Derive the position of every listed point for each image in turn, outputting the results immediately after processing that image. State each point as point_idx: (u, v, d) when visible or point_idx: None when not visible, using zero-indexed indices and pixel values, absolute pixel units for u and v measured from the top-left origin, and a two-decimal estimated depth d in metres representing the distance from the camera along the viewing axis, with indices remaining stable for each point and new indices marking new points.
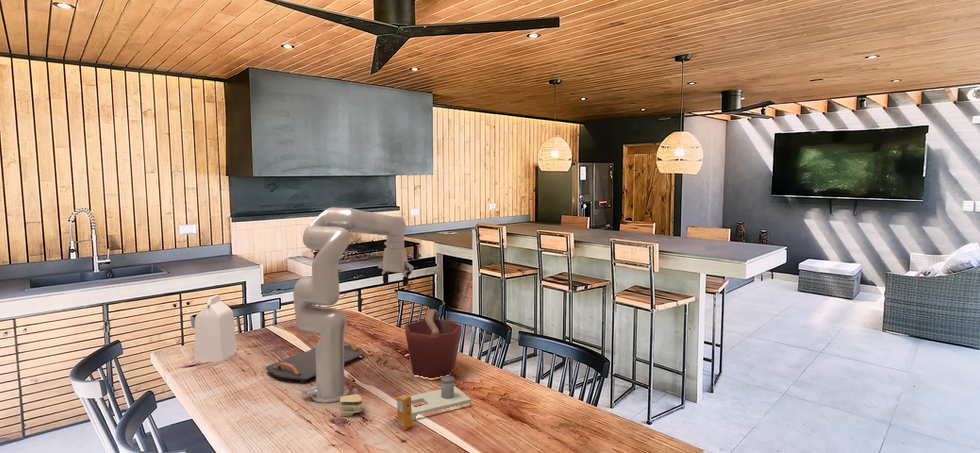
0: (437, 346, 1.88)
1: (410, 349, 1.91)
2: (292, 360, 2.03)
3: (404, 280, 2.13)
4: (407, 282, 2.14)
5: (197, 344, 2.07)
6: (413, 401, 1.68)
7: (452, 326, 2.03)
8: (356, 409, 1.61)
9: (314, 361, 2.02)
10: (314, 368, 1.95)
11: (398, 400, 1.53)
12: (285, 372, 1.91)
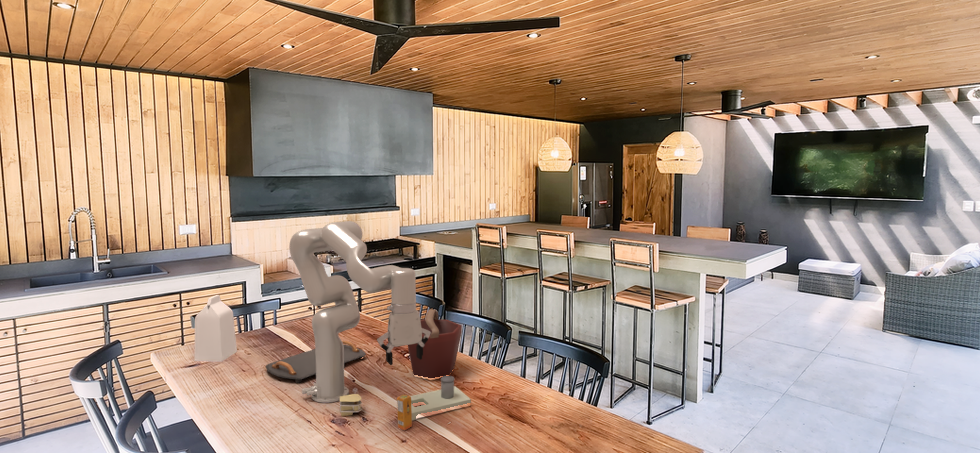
0: (437, 346, 1.88)
1: (410, 349, 1.91)
2: (292, 359, 2.04)
3: (421, 352, 1.59)
4: None
5: (197, 344, 2.07)
6: (413, 401, 1.68)
7: (452, 326, 2.03)
8: (355, 409, 1.62)
9: (313, 361, 2.02)
10: (311, 368, 1.95)
11: (398, 400, 1.53)
12: (282, 371, 1.91)
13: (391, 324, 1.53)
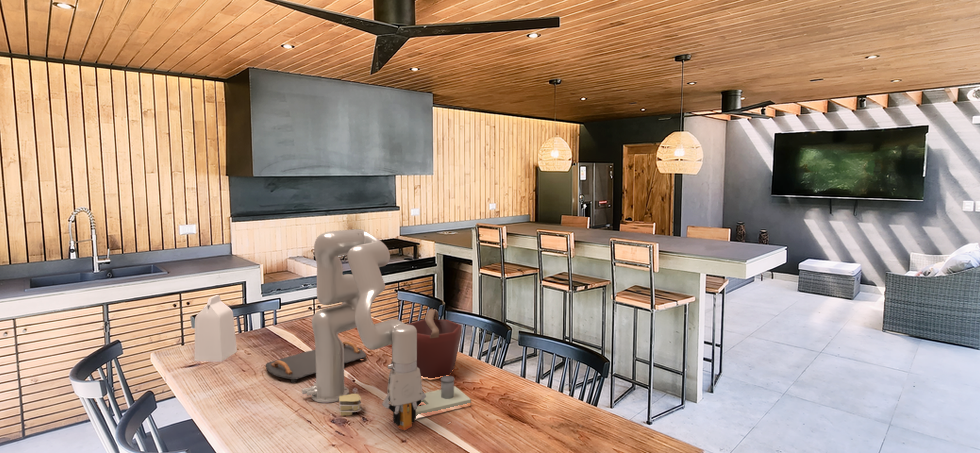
0: (437, 346, 1.88)
1: None
2: (293, 358, 2.05)
3: None
4: None
5: (197, 344, 2.07)
6: None
7: (452, 326, 2.03)
8: (355, 408, 1.62)
9: (312, 361, 2.02)
10: (308, 368, 1.95)
11: None
12: (280, 370, 1.92)
13: (391, 383, 1.50)
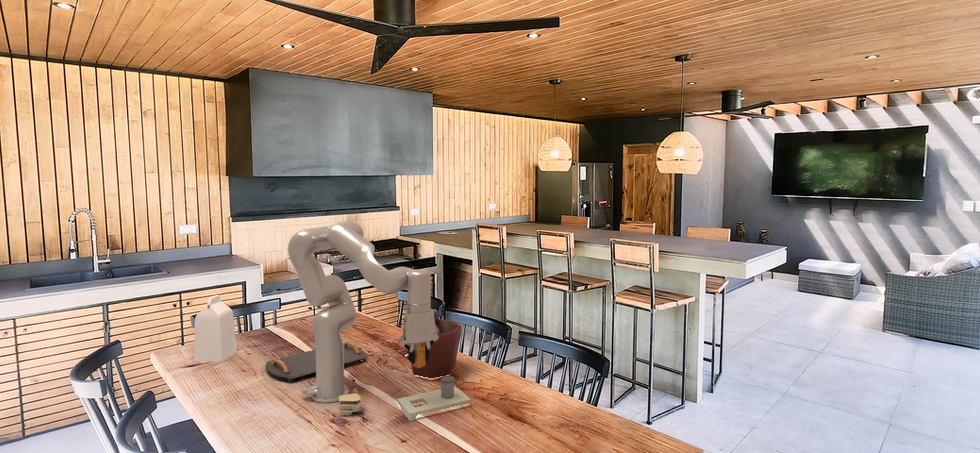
0: (437, 346, 1.88)
1: None
2: (294, 357, 2.06)
3: (427, 354, 1.65)
4: None
5: (197, 344, 2.07)
6: (413, 401, 1.68)
7: (452, 326, 2.03)
8: (355, 408, 1.62)
9: (312, 361, 2.03)
10: (306, 368, 1.95)
11: None
12: (278, 369, 1.93)
13: (407, 323, 1.60)
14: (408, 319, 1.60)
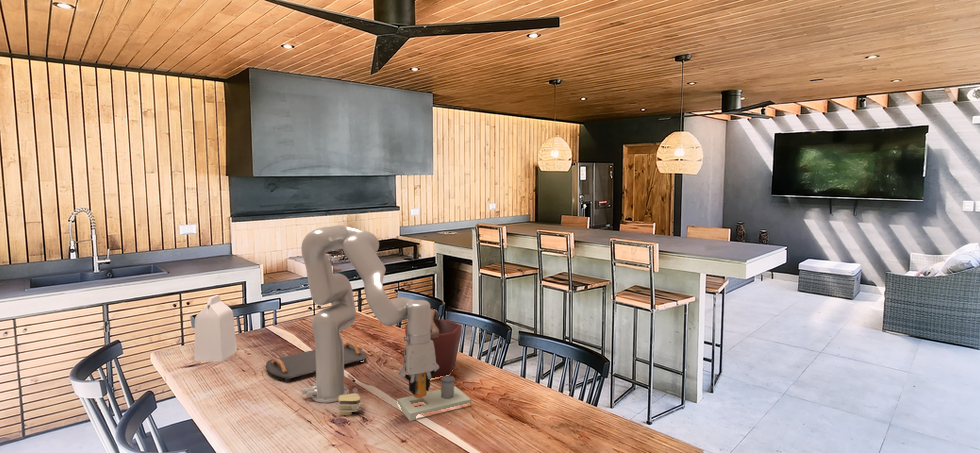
0: (437, 346, 1.88)
1: None
2: (294, 357, 2.07)
3: (428, 384, 1.66)
4: None
5: (197, 344, 2.07)
6: (413, 401, 1.68)
7: (452, 326, 2.03)
8: (354, 408, 1.62)
9: (312, 361, 2.03)
10: (304, 368, 1.95)
11: None
12: (277, 368, 1.94)
13: (407, 354, 1.61)
14: (408, 350, 1.61)
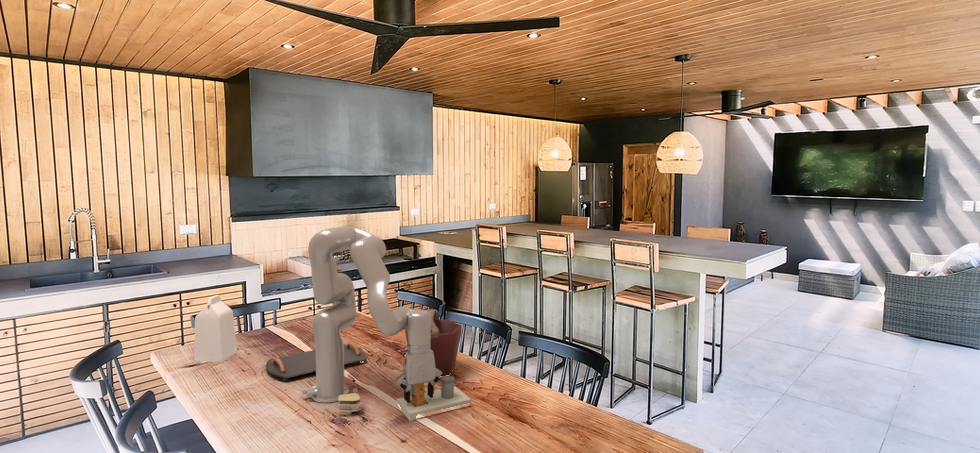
0: (437, 346, 1.88)
1: None
2: (295, 356, 2.07)
3: (432, 390, 1.67)
4: None
5: (197, 344, 2.07)
6: None
7: (452, 326, 2.03)
8: (354, 408, 1.62)
9: (311, 360, 2.03)
10: (303, 368, 1.95)
11: None
12: (276, 368, 1.95)
13: (407, 364, 1.61)
14: (408, 360, 1.61)
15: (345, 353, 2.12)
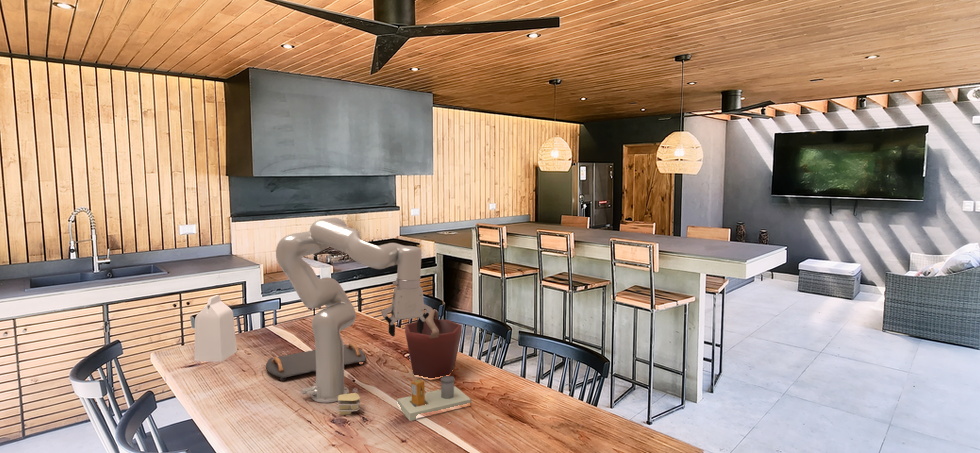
0: (437, 346, 1.88)
1: (410, 349, 1.91)
2: (296, 356, 2.08)
3: None
4: (422, 328, 1.69)
5: (197, 344, 2.07)
6: None
7: (452, 326, 2.03)
8: (354, 408, 1.62)
9: (311, 360, 2.03)
10: (301, 367, 1.95)
11: (412, 384, 1.65)
12: (275, 367, 1.95)
13: (396, 298, 1.61)
14: (397, 294, 1.61)
15: (346, 354, 2.11)
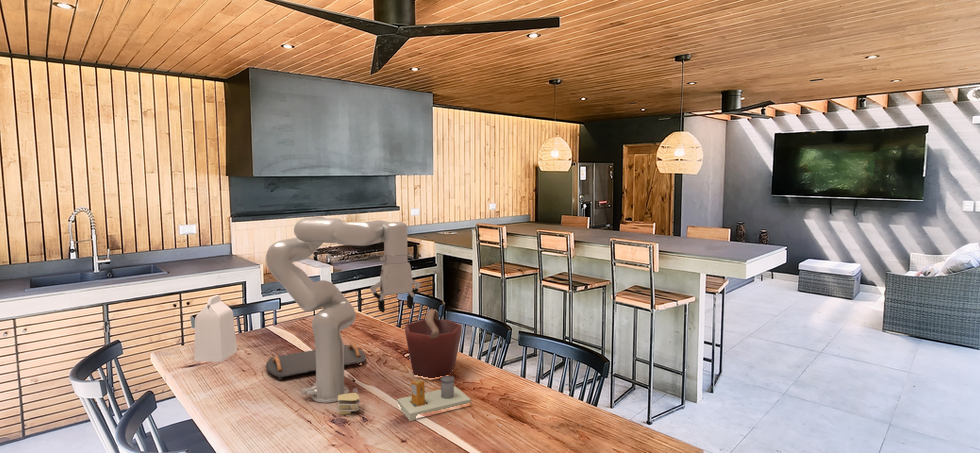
0: (437, 346, 1.88)
1: (410, 349, 1.91)
2: (297, 355, 2.08)
3: (411, 301, 1.68)
4: None
5: (197, 344, 2.07)
6: None
7: (452, 326, 2.03)
8: (353, 408, 1.62)
9: (311, 360, 2.03)
10: (300, 367, 1.96)
11: (412, 384, 1.65)
12: (274, 366, 1.96)
13: (384, 273, 1.62)
14: (385, 270, 1.62)
15: (346, 354, 2.11)
